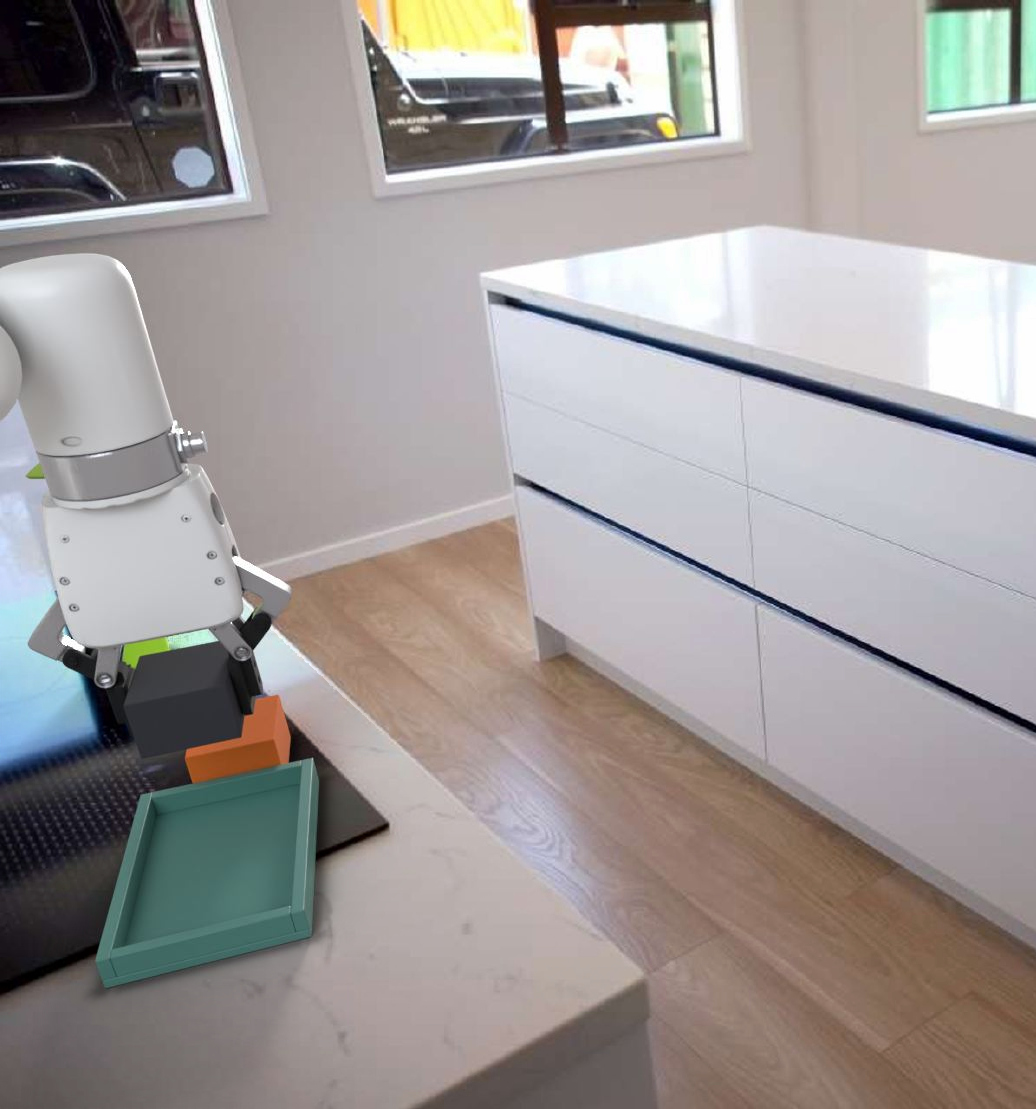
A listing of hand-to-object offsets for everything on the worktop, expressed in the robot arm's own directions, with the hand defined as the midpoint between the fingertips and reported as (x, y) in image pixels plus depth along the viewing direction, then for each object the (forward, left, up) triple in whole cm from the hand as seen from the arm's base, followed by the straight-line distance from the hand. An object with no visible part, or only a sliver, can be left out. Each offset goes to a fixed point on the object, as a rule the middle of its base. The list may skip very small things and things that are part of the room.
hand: (195, 714), depth 84 cm
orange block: (0, +8, -10) cm, 13 cm away
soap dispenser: (-11, +30, -10) cm, 34 cm away
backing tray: (0, -5, -10) cm, 11 cm away
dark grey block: (0, 0, -1) cm, 1 cm away
